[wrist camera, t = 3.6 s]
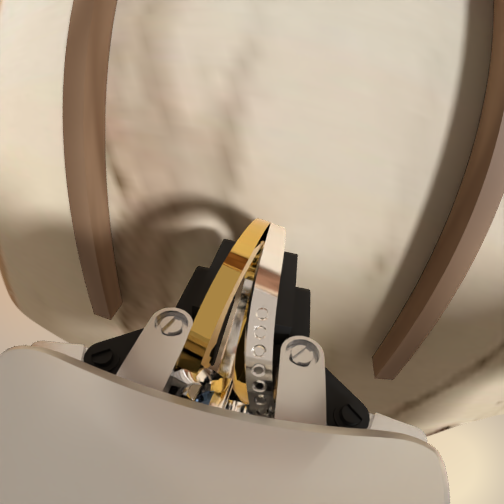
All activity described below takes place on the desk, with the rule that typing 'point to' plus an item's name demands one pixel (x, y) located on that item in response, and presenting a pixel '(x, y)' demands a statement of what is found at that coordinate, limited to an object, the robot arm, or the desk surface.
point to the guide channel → (96, 201)
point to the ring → (237, 327)
